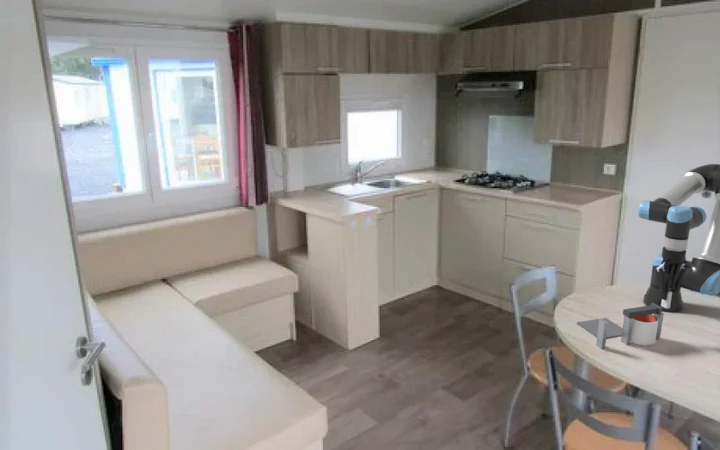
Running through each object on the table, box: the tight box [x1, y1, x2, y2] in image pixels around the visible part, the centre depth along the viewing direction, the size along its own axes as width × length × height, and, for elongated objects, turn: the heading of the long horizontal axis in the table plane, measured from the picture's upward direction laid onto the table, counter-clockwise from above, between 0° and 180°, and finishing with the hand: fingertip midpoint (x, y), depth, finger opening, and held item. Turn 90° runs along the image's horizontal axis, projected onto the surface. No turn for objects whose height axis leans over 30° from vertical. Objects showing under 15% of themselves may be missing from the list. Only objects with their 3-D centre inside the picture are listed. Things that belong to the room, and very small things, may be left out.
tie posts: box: [595, 312, 664, 350], centre depth 198 cm, size 26×3×11 cm, turn 104°
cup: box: [630, 314, 659, 347], centre depth 200 cm, size 10×10×10 cm
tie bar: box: [622, 303, 663, 318], centre depth 197 cm, size 14×4×3 cm, turn 104°
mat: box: [576, 317, 623, 339], centre depth 211 cm, size 14×14×1 cm
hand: (665, 306), depth 200 cm, fingers closed
